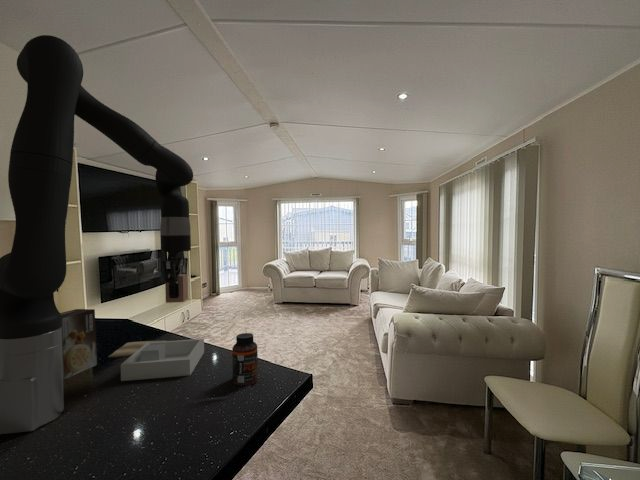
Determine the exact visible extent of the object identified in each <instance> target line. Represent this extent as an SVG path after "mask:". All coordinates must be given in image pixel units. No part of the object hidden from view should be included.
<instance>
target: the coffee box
mask: <svg viewBox="0 0 640 480" xmlns="http://www.w3.org/2000/svg"><path fill="white" fill-rule="evenodd" d="M60 314H61V320H62V326H61V327H62V361H63V380H66V379H69V378H70V377H74V376H75V375H77V374H80V373H82V372H84V371H86V370H88V369H91V368H93V367H96V366H97V365H98V357H97V356H98V355H97V335H96V330H97V329H96V312H95V309H94V308H93V309H92V308H91V309H90V308H89V309H88V308H87V309H86V308H76V309H71V310H67V311H62V312H60Z"/></svg>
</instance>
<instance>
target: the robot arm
mask: <svg viewBox="0 0 640 480" xmlns="http://www.w3.org/2000/svg"><path fill="white" fill-rule="evenodd" d="M16 68H17V71H18V73H19V76H20V77H21V78H22V79H23V81H24V82H25V83H26V84H27V85H26V86H27V90H26V91H27V92H26V99H25V103H24V107H23V110H22V113H21V115H20V118H19V120H18V123H17V125H16V129H15V132H14V134H13V138H12V139H13V140H12V142H11V147H10V153H9V162H8V172H7V173H8V174H7V175H8V176H7V177H8V179H7V182H8V189H9V195H10V200H11V203H12V207H13V212H14V217H15V230H14V235H13V241H12V246H11V249H10V252H8V253H6V254H4V255H2V256H0V435H6V434H15V433H16V434H17V433H26V432H33V431H35V430H36V429H38V428H40V427H41V426H44V425H46V424H49V423H50V422H52V421H54V420H56V419H57V418H59V417H60V416H61V415H62V414H63V413H64V408H65V406H64V405H65V404H64V403H65V400H64V399H65V398H64V394H65V393H64V379H63V361H62V327H61V326H62V320H61V314H60V313H61V312H60V311H59V310H58V308H57V304H56V302H55V292H57V291H58V290H59V288H61V287H62V285H63V283H64V282H65V279H66V276H67V251H66V250H67V249H66V224H67V216H68V208H69V200H70V199H69V198H70V191H71V184H72V174H73V165H74V164H73V163H74V162H73V161H74V160H73V159H74V145H75V144H74V142H75V116H76V117H78V118H79V119H81V120H82V121H84V122H85V123H87V124H88V125H90V126H92V127H93V128H94V129H96V130H97V131H98V132H100V133H101V134H102V135H104V136H105V137H107V138H108V139H109V140H111V141H112V142H114V144H116V145H117V146H118V147H120V149H122V150H123V151H124V152H126V154H128V155H129V156H130V157H132V158H133V159H134V160H135V161H136V162H137V163H139V164H140V165H143V166H146V167H147V166H148V167H151V168H154V169H156V172H155V185H156V190H157V194H158V197H159V199H160V200H159V201H160V226H159V227H160V228H159V230H160V232H159V235H160V251H161V252H163V253H167V258H166V260H163V261H162V267H163V276H164V283H165V282H166V283H168V284H169V297H170V298H178V297H179V285H178V283H179V276H180V275H181V274H188V262H189V259H188V257H185V252H190V251H191V249H192V246H191V245H192V242H191V241H192V240H191V237H192V235H191V234H192V233H191V223H190V204H189V202H190V201H189V199H188V198H187V197H185V196H184V195H183V193H182V189H181V188H182V187H185V186H188V185H189V184H191V183H192V181H193V179H194V172H193V169H192V167H191V166H190V164H189V163H188V162H187V161H186V160H185V159H183V158H182V156H180V155H179V154H176V153H175V152H174V151H171V150H170V149H168V148H167V147H165V146H163V145H161V144H160V143H159V142H158V141H157V139H155V138H153V137H152V136H151V135H150V134H149V133H148V132H147V131H146V130H145V129H144V128H143V127H141V126H140V125H139V124H138V123H136V122H134V121H133V120H132V119H130V118H128V117H127V116H125V115H124V114H121V113H120V112H117V111H116V110H114V109H113V108H110V107H109V106H107V105H105V104H104V103H103V102H101V101H100V100H99V99H97V98H96V97H95V96H93V94H90V92H89V91H88V90H86V89H85V87H83V85H82V82H83V79H84V67H83V63H82V60H81V58H80V56H79V55H78V53H77V51H76V50H75V48H73V47H72V45H70V43H68V42H66V40H63V38H60V37H57V36H55V35H48V34H47V35H46V34H44V35H42V34H41V35H36V36H35V37H33V38H31V39H29V41H27V42H26V43H25V45H24V46H23V48H22V49H21V51H20V52H19V54H18V56H17V58H16ZM171 276H173V278H171Z"/></svg>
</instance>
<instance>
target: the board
mask: <svg viewBox="0 0 640 480" xmlns="http://www.w3.org/2000/svg"><path fill="white" fill-rule="evenodd" d="M162 341H167V340H166V339H161V340H145V341H131V342H129V341H128V342H126V343H125V344H124V345H122V346H121V347H119V348H118V349H116V350H114V352H113V353H111V354H110V355H109V356H108V357H107V358H108V359H111V358H124V357H125V358H126V357H130V356H132V355H133V354H134V353H135V352H136V351H138V350H139V349H140V348H141V347H142V346H144V345H145V344H146V343H147V342H162Z"/></svg>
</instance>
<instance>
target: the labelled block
mask: <svg viewBox="0 0 640 480" xmlns="http://www.w3.org/2000/svg"><path fill="white" fill-rule="evenodd" d="M171 278H173V276H171ZM164 283H165V287H164V288H165V290H164V291H165V304H167V303H168V304H170V303H184V302H186V301H187V300H188V299H189V277H188V273H187V274H181V275H180V276H179V283H178V285H179V297H178V298H170V297H169V284H168V283H166V282H165V281H164Z"/></svg>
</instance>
